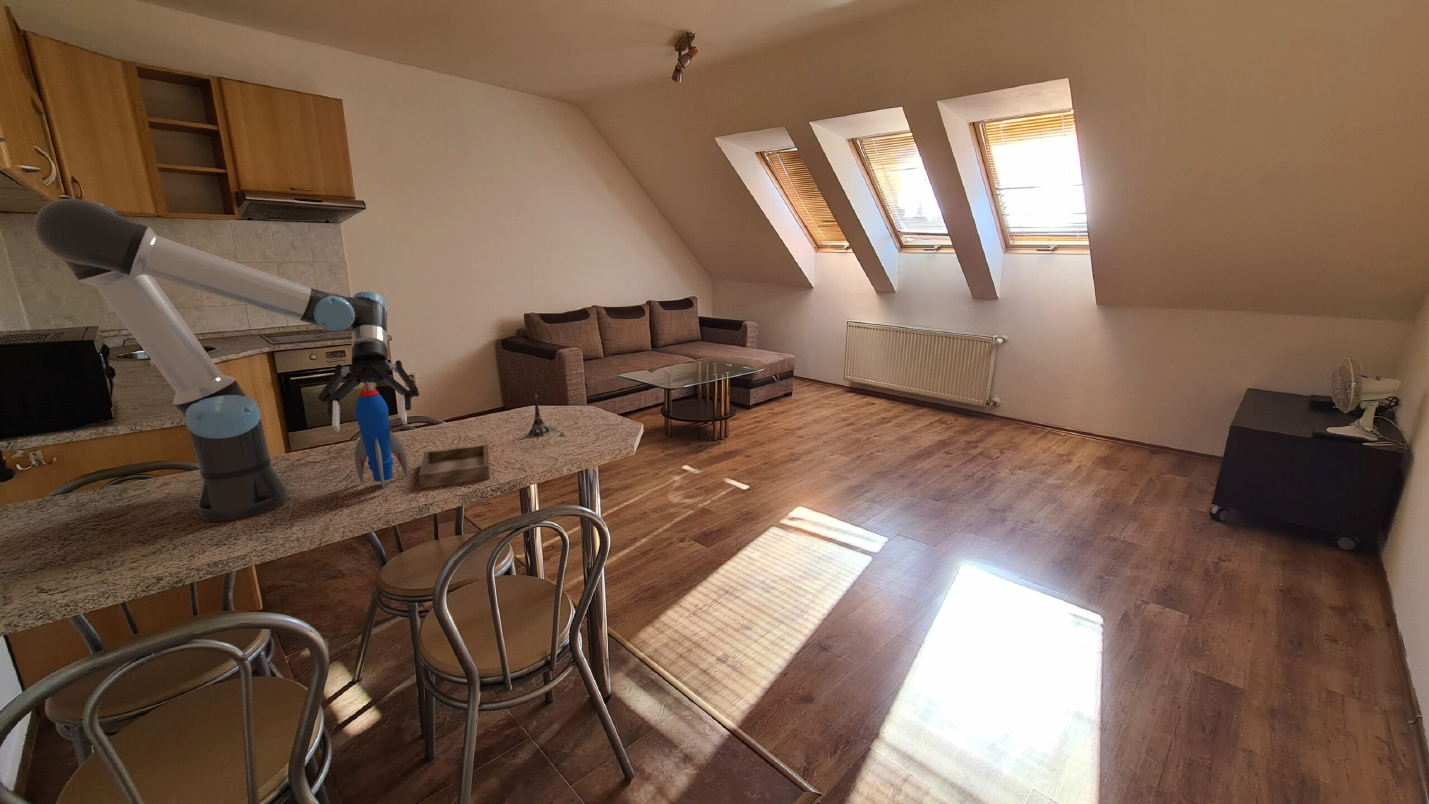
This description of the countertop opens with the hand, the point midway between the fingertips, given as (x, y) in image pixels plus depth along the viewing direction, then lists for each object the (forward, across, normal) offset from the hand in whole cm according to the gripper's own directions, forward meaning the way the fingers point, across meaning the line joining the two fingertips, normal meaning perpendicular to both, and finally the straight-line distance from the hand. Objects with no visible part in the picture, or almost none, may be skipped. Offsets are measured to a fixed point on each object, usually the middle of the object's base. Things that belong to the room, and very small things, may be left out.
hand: (370, 425), depth 132 cm
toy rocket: (+10, +1, -11) cm, 15 cm away
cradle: (+9, -16, -12) cm, 22 cm away
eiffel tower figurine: (-6, -39, -28) cm, 48 cm away
